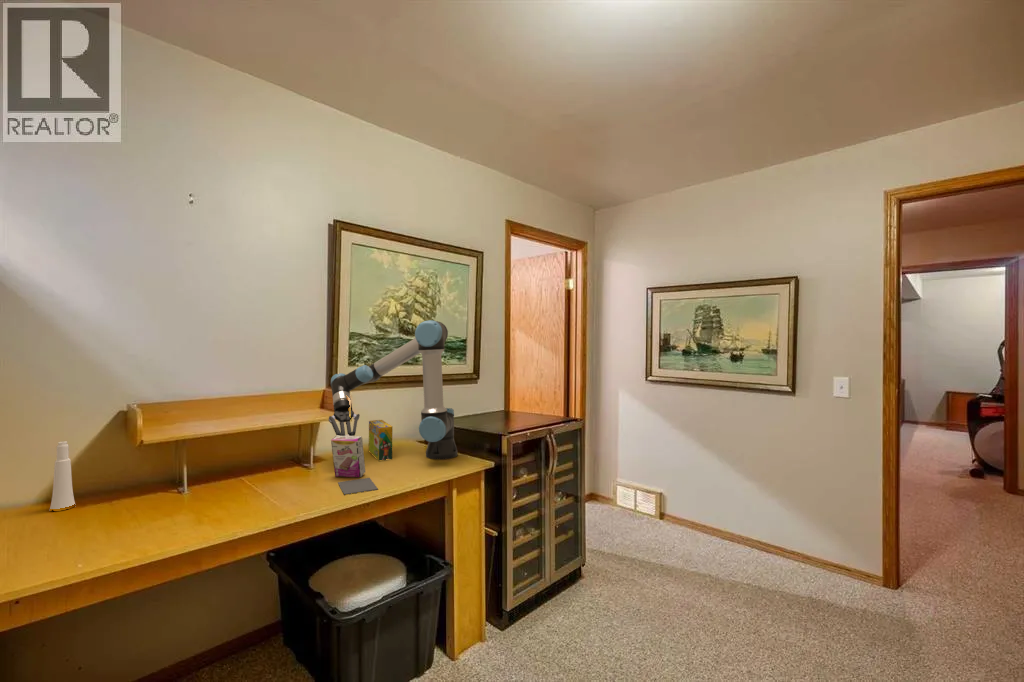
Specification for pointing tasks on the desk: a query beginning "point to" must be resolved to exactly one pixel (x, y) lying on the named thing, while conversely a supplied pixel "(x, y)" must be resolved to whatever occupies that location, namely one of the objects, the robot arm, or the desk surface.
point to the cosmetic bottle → (62, 479)
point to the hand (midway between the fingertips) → (348, 449)
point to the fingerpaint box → (380, 439)
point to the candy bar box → (348, 456)
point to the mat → (357, 486)
